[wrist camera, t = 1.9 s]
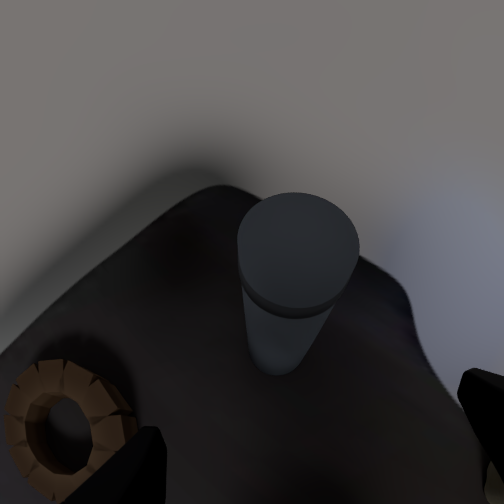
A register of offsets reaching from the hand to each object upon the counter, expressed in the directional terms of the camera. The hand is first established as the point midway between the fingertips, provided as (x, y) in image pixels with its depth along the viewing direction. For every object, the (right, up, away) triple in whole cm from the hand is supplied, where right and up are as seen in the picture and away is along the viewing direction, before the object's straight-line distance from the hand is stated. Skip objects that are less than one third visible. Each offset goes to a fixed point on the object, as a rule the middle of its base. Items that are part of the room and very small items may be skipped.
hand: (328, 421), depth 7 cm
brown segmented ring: (-14, -8, +9) cm, 18 cm away
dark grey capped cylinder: (0, -2, +12) cm, 13 cm away
